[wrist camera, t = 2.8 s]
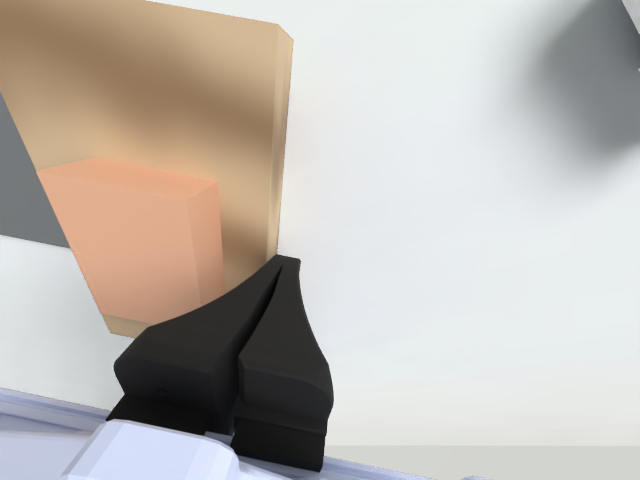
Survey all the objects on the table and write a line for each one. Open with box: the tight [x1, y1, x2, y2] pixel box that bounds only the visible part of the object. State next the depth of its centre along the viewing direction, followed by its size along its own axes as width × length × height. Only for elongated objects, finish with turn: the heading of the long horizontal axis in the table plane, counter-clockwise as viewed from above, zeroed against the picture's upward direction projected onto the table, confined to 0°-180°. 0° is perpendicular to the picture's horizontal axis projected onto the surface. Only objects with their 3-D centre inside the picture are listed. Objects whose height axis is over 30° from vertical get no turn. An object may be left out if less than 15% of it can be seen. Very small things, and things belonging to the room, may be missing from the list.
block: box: [36, 158, 225, 324], centre depth 12 cm, size 8×6×2 cm
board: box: [0, 0, 293, 338], centre depth 15 cm, size 20×12×2 cm, turn 171°
